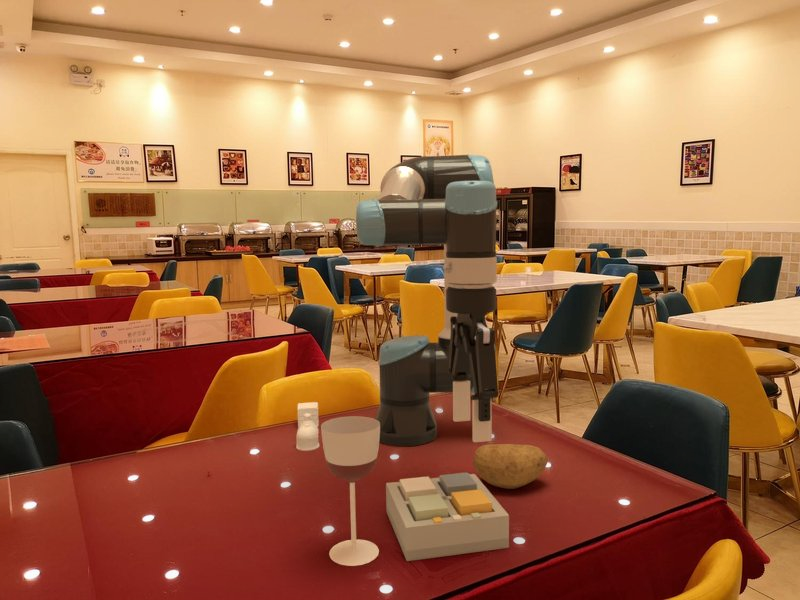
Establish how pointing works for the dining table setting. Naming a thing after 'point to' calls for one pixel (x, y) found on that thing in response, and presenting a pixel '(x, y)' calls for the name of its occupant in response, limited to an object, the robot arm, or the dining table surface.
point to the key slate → (456, 483)
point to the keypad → (446, 527)
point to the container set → (307, 426)
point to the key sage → (427, 507)
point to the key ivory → (416, 487)
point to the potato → (509, 464)
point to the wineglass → (351, 474)
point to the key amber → (470, 502)
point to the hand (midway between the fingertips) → (471, 430)
